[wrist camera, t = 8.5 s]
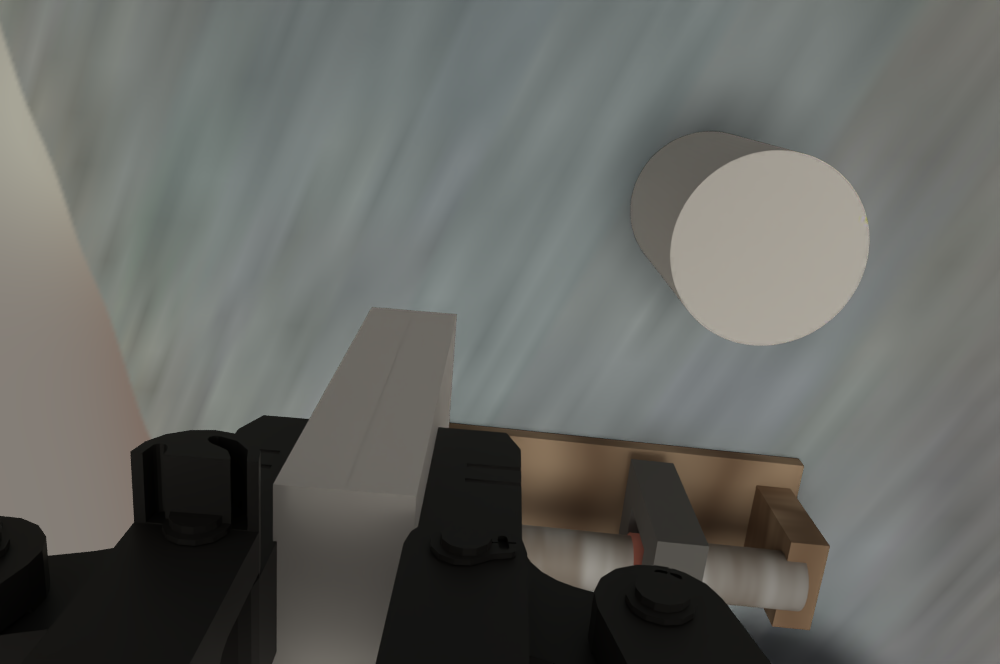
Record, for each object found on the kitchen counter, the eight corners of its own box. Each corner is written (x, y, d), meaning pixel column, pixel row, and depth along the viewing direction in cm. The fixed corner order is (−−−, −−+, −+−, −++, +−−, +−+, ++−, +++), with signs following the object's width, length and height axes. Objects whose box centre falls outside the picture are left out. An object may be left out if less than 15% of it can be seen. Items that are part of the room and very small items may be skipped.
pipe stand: (350, 535, 53) (321, 620, 45) (358, 413, 51) (329, 479, 43) (771, 577, 54) (820, 669, 45) (798, 458, 51) (854, 532, 43)
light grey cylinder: (737, 303, 49) (809, 373, 37) (605, 247, 48) (637, 301, 36) (807, 167, 47) (906, 198, 35) (670, 106, 46) (726, 117, 34)
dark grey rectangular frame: (610, 583, 51) (631, 687, 42) (631, 458, 49) (657, 541, 40) (651, 587, 51) (680, 691, 42) (673, 463, 49) (709, 546, 40)
